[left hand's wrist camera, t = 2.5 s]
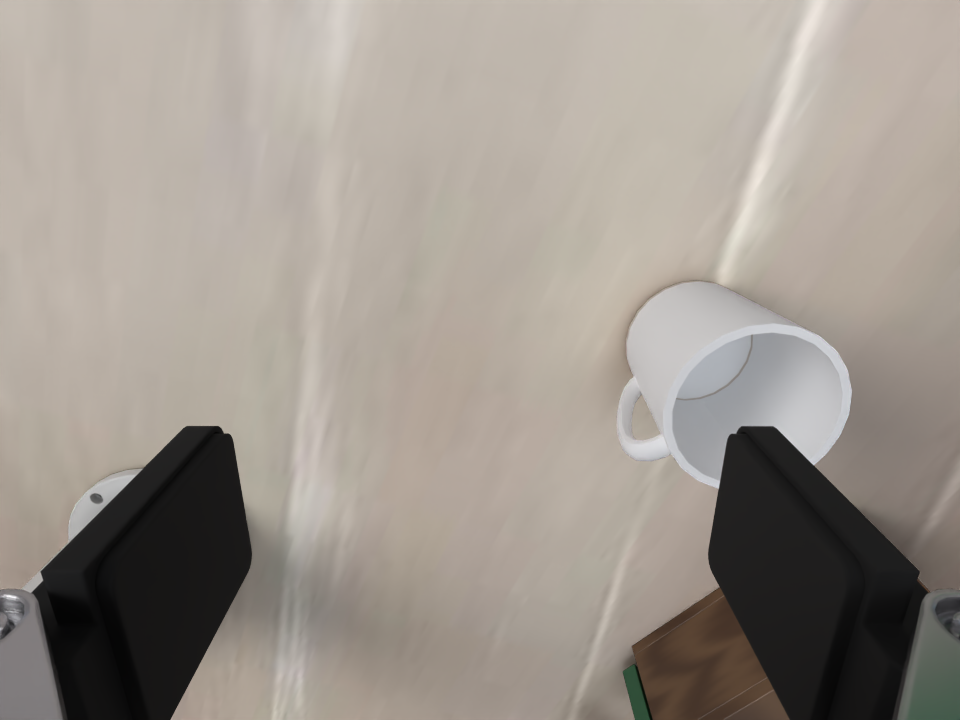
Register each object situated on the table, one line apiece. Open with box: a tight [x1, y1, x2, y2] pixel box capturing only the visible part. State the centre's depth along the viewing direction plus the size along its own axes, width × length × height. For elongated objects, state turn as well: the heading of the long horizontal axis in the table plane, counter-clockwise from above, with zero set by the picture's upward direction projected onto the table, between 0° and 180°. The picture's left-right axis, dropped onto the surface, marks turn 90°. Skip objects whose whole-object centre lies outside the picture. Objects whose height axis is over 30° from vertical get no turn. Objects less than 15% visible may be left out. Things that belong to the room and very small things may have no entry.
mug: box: [617, 280, 852, 489], centre depth 34 cm, size 11×9×10 cm
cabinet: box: [632, 579, 930, 720], centre depth 42 cm, size 20×10×9 cm, turn 134°
